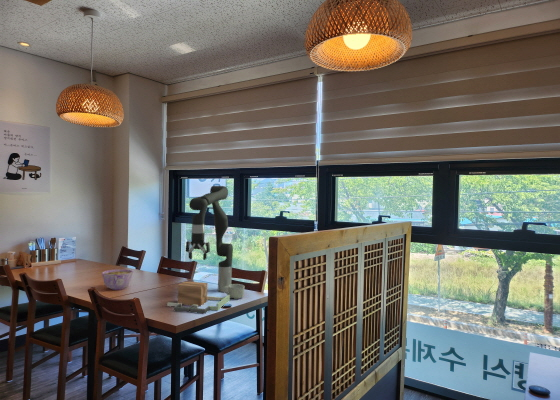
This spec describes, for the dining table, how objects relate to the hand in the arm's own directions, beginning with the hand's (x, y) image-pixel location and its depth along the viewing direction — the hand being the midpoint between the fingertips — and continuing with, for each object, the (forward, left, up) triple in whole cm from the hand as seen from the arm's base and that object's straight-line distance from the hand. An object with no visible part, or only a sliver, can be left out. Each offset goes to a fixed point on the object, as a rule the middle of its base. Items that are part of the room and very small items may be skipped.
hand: (197, 259), depth 228 cm
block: (-8, -6, -29) cm, 31 cm away
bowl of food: (-27, -71, -29) cm, 81 cm away
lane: (-5, -2, -29) cm, 29 cm away
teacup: (-27, +14, -29) cm, 42 cm away
